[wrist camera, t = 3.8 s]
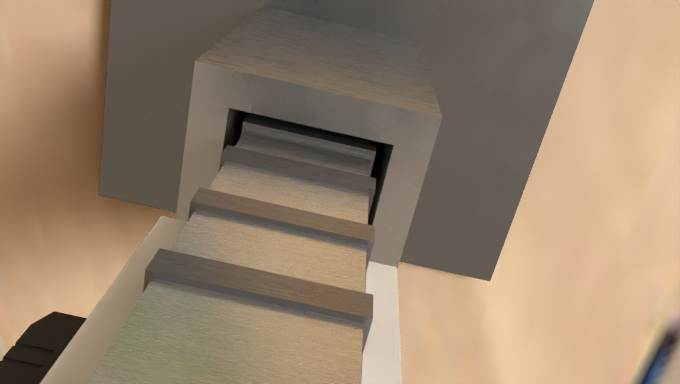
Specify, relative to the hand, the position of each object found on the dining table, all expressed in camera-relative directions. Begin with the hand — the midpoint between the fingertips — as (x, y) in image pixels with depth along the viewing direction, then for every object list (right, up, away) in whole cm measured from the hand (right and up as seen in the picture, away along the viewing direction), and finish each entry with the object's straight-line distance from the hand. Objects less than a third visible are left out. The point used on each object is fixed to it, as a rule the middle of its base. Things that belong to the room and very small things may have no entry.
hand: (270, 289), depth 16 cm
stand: (+1, +7, +17) cm, 18 cm away
